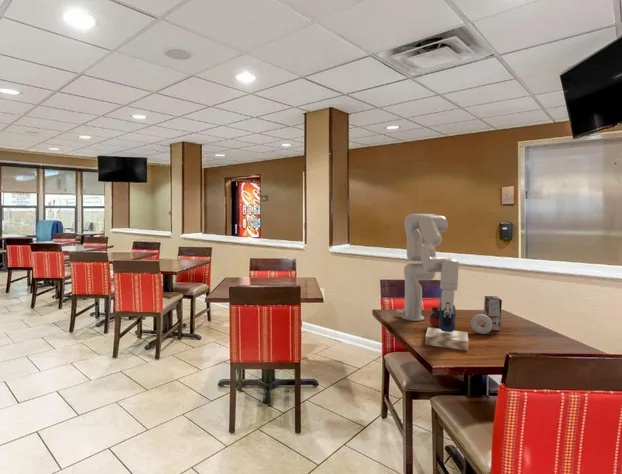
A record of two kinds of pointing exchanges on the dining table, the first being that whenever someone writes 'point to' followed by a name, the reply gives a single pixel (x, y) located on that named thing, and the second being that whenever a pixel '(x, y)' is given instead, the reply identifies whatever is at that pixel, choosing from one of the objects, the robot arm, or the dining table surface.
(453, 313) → the soda can
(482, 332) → the donut
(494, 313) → the coffee box
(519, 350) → the dining table surface
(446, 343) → the block
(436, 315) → the cake
